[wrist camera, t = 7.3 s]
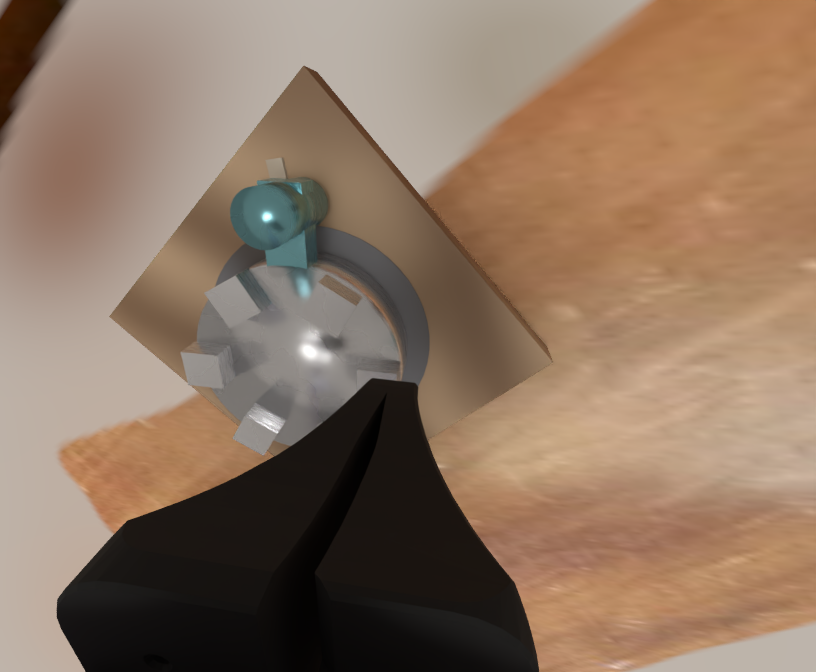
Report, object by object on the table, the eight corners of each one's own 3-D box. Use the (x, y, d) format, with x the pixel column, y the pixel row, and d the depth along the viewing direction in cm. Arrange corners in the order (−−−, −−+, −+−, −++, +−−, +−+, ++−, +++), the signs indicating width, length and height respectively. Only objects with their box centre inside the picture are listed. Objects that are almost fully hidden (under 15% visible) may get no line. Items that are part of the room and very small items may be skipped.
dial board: (335, 483, 26) (327, 504, 25) (130, 306, 22) (106, 318, 21) (547, 347, 20) (554, 364, 19) (317, 71, 16) (301, 64, 15)
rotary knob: (404, 427, 21) (391, 487, 17) (240, 408, 22) (195, 462, 18) (414, 182, 16) (398, 194, 12) (198, 171, 17) (122, 178, 13)
